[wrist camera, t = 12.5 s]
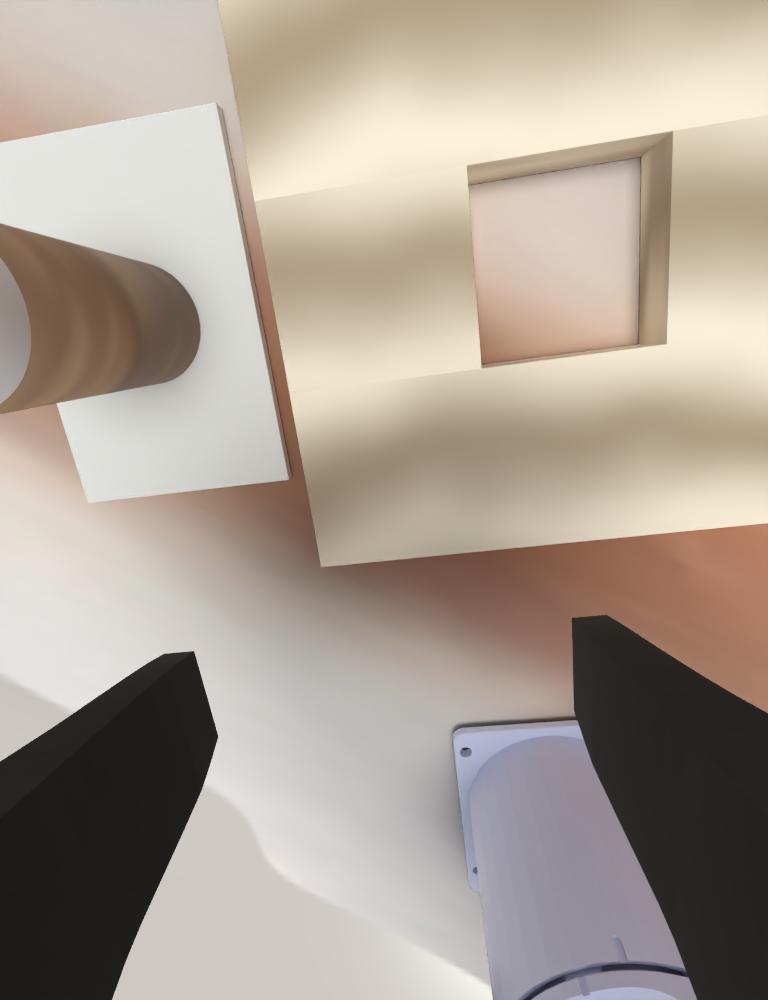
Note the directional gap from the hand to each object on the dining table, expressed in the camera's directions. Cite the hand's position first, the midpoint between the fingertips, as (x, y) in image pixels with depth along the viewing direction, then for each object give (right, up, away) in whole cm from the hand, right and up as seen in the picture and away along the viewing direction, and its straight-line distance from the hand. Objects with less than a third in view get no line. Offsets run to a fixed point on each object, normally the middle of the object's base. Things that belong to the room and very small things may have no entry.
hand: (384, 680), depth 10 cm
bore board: (+6, +11, +7) cm, 14 cm away
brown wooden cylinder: (-8, +10, +8) cm, 15 cm away
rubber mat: (-8, +10, +8) cm, 15 cm away
